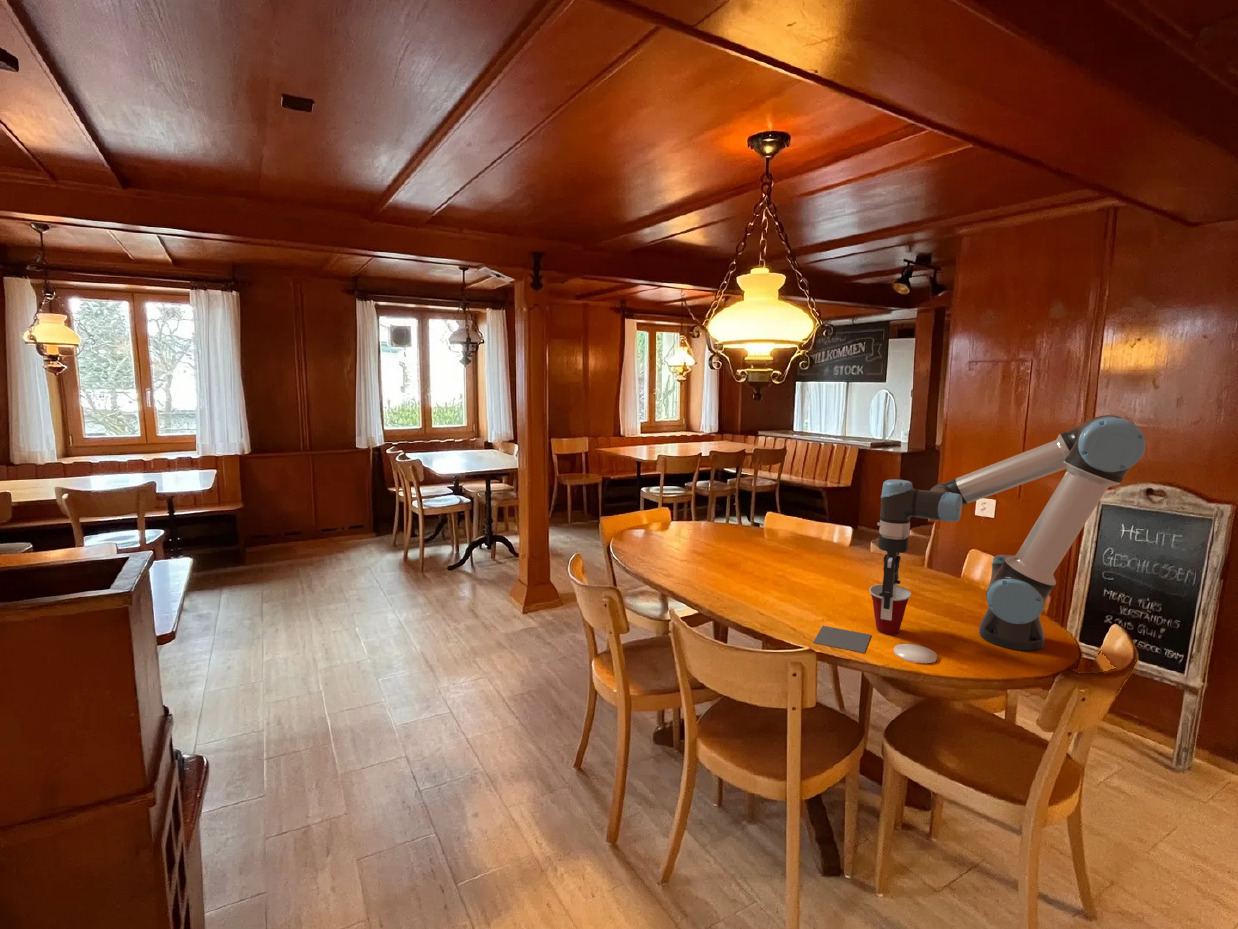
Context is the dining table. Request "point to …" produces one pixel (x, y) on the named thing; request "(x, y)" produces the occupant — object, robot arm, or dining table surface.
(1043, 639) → the robot arm
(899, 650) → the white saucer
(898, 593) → the plastic cup
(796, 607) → the dining table surface
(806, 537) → the dining table surface
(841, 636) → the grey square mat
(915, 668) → the dining table surface
